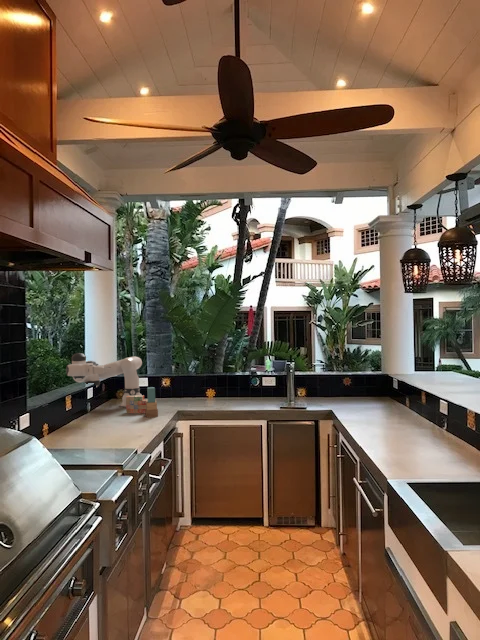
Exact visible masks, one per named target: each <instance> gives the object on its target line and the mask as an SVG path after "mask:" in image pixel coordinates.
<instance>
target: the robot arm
mask: <svg viewBox="0 0 480 640" xmlns="http://www.w3.org/2000/svg"><path fill="white" fill-rule="evenodd" d="M86 360H87V356H86V355H85V354H84V353H81V352H78V353H77V352H76V353H74V354H73V355H72V356H71V364H67V365H66V367H65V368H66V369H65V372H66V376H68V377H72V378H73V381H75V382H76V383H80V384H81V383H84V384H85V383H86V384H88V383H94V384H95V385H96V388H98V387H99V386H100V384H101V380H100V379H107V378H112V377H115V376H120V375H123V376H124V393H123V395H122V397H121V400H122V401H121V404H120V407H125V408H126V397H127V396H137V395H142V393H140V392H141V391H140V390H141V388H140V377H139V375H138V372H137V370H139V369H140V368H141V366H142V365H143V361H142V358H140V357H139V356H135V355H134V356H129V357H125V358H123V359H119V360H115V361H113V362H109V363H106V364H103V365H102V364H101V365H99V363H97V362H96V361H94V360H87V361H86Z"/></svg>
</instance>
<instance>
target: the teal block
mask: <svg viewBox="0 0 480 640" xmlns="http://www.w3.org/2000/svg"><path fill="white" fill-rule="evenodd" d="M146 391H147V399H148V403H152V402H155V399H156V388H155V387H153V386H150V387H149V386H148V387H147V388H146Z"/></svg>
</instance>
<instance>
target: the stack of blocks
mask: <svg viewBox="0 0 480 640" xmlns="http://www.w3.org/2000/svg"><path fill="white" fill-rule="evenodd" d="M146 401H148V398H146V399H145V395H144V394H143V395H137V396H127V397H126V407H125V413H126V414H145V408H146ZM155 401H156V402H157V399H156V398H155Z"/></svg>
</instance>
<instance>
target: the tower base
mask: <svg viewBox="0 0 480 640" xmlns="http://www.w3.org/2000/svg"><path fill="white" fill-rule="evenodd" d="M144 416H145V417H146V418H153V417H154V418H157V417H159V409H158V408H157V410H147V409H146V408H145V413H144Z"/></svg>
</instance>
